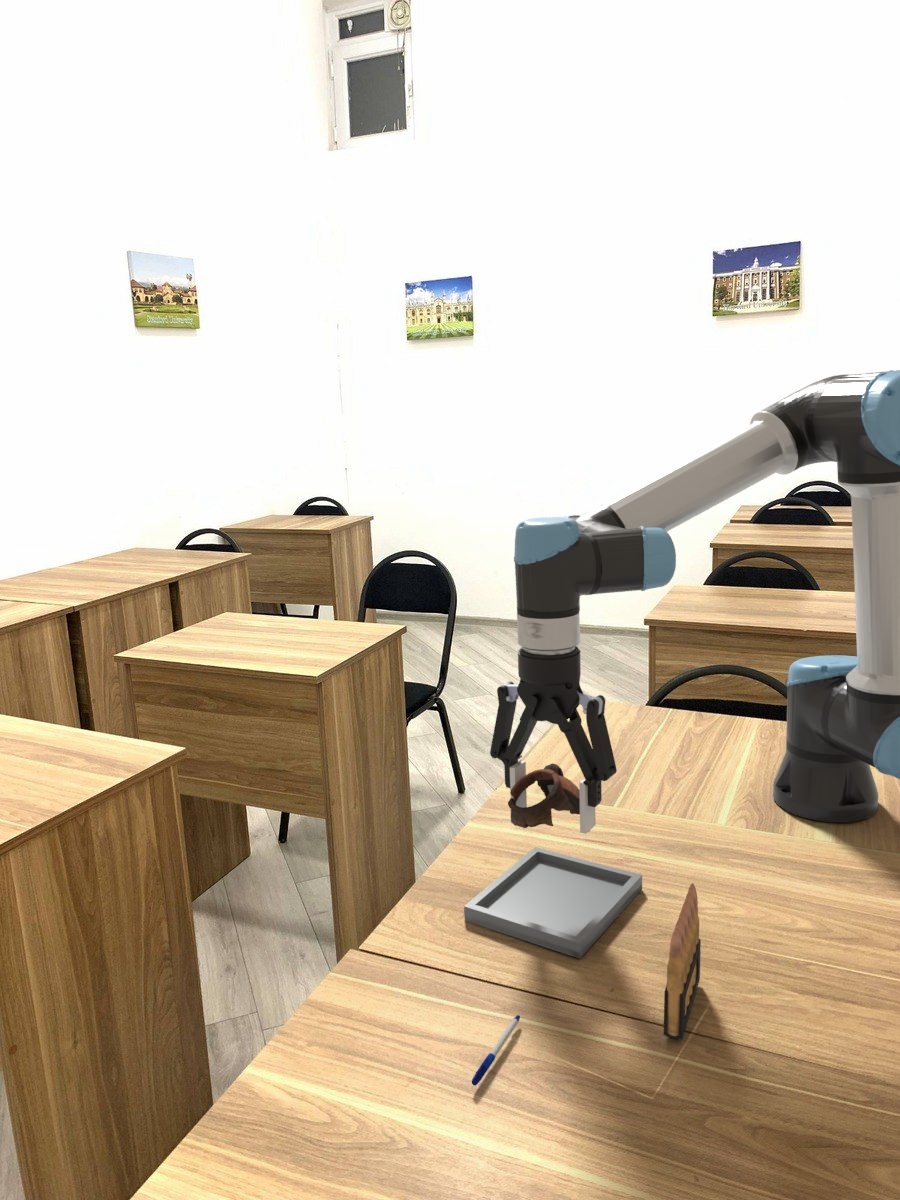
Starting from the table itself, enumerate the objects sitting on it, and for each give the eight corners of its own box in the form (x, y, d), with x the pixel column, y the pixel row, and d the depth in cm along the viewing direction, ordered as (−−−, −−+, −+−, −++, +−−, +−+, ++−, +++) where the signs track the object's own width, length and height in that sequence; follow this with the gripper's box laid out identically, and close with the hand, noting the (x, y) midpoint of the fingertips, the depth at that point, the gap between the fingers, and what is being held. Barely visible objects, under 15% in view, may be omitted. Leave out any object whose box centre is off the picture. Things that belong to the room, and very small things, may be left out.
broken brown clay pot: (599, 847, 111) (568, 799, 108) (530, 872, 114) (497, 827, 111) (594, 782, 121) (565, 737, 118) (530, 806, 124) (500, 763, 121)
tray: (642, 889, 121) (642, 875, 120) (579, 958, 106) (579, 943, 106) (535, 860, 130) (535, 846, 129) (464, 920, 115) (464, 906, 115)
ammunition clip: (681, 1041, 92) (684, 935, 90) (663, 1036, 93) (665, 931, 90) (699, 978, 102) (702, 880, 99) (682, 974, 103) (685, 877, 100)
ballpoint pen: (478, 1088, 87) (478, 1079, 87) (470, 1086, 88) (470, 1077, 87) (521, 1020, 96) (520, 1011, 96) (513, 1017, 97) (513, 1009, 97)
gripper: (456, 644, 114) (463, 813, 119) (619, 665, 102) (620, 852, 106) (488, 630, 120) (494, 792, 125) (646, 649, 108) (646, 827, 112)
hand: (552, 820), depth 116 cm, fingers closed on broken brown clay pot, 9 cm apart
